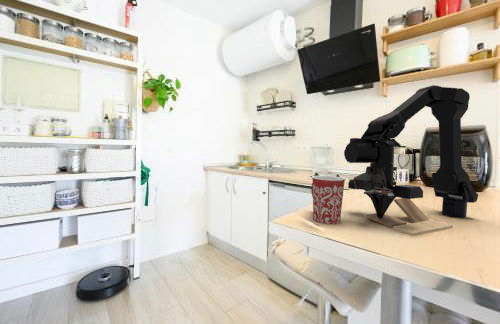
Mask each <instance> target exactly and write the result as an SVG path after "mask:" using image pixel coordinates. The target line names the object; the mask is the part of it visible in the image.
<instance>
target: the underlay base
mask: <svg viewBox="0 0 500 324" xmlns="http://www.w3.org/2000/svg"><path fill="white" fill-rule="evenodd" d="M453 228H454V226H453V224H450V223H446V222H442V221H439V220H438V221H437V220H433V219H430V220H428V221H422V222H416V223H413V222H411V223H407V224H404V225H398V226H393V228H392V230H394V231H397V232H399V233H403V234H405V235H408V236H411V237H415V236H417V237H418V236H421V235H426V234H431V233H436V232H440V231H446V230H451V229H453Z"/></svg>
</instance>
